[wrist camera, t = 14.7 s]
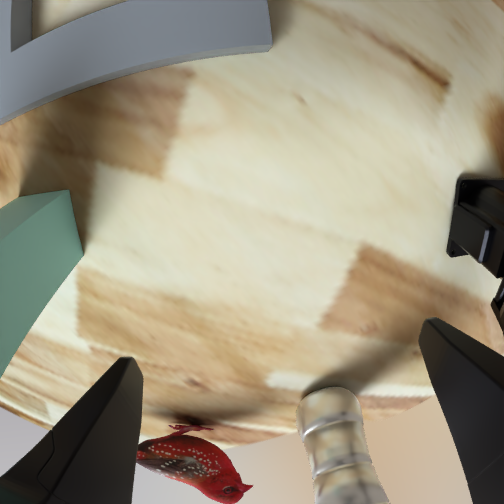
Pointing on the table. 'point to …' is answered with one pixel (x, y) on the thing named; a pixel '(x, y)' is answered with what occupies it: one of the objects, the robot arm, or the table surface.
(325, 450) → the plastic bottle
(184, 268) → the table surface
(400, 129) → the table surface
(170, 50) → the collar board
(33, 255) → the teal peg
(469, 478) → the robot arm
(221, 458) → the decorative bird figurine
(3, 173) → the table surface
